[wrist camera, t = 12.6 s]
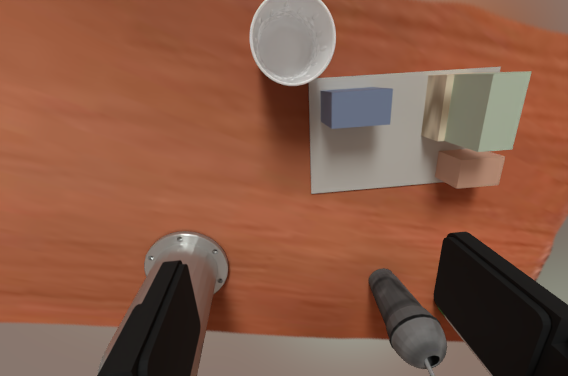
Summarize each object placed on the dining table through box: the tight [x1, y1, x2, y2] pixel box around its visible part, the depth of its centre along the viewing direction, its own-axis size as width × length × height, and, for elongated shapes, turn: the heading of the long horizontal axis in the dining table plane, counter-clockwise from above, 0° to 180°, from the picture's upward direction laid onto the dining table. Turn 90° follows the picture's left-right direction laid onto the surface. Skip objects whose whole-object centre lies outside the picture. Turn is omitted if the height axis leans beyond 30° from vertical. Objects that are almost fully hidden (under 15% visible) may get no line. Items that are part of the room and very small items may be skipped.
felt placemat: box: [309, 67, 501, 194], centre depth 40 cm, size 16×26×1 cm, turn 93°
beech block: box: [421, 72, 492, 141], centre depth 37 cm, size 8×6×4 cm
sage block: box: [444, 71, 532, 152], centre depth 32 cm, size 8×4×6 cm, turn 3°
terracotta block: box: [435, 149, 505, 189], centre depth 40 cm, size 4×6×5 cm, turn 93°
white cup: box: [250, 0, 336, 86], centre depth 30 cm, size 8×8×10 cm
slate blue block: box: [320, 87, 393, 129], centre depth 35 cm, size 7×4×6 cm, turn 93°
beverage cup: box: [369, 269, 447, 376], centre depth 40 cm, size 7×7×20 cm
